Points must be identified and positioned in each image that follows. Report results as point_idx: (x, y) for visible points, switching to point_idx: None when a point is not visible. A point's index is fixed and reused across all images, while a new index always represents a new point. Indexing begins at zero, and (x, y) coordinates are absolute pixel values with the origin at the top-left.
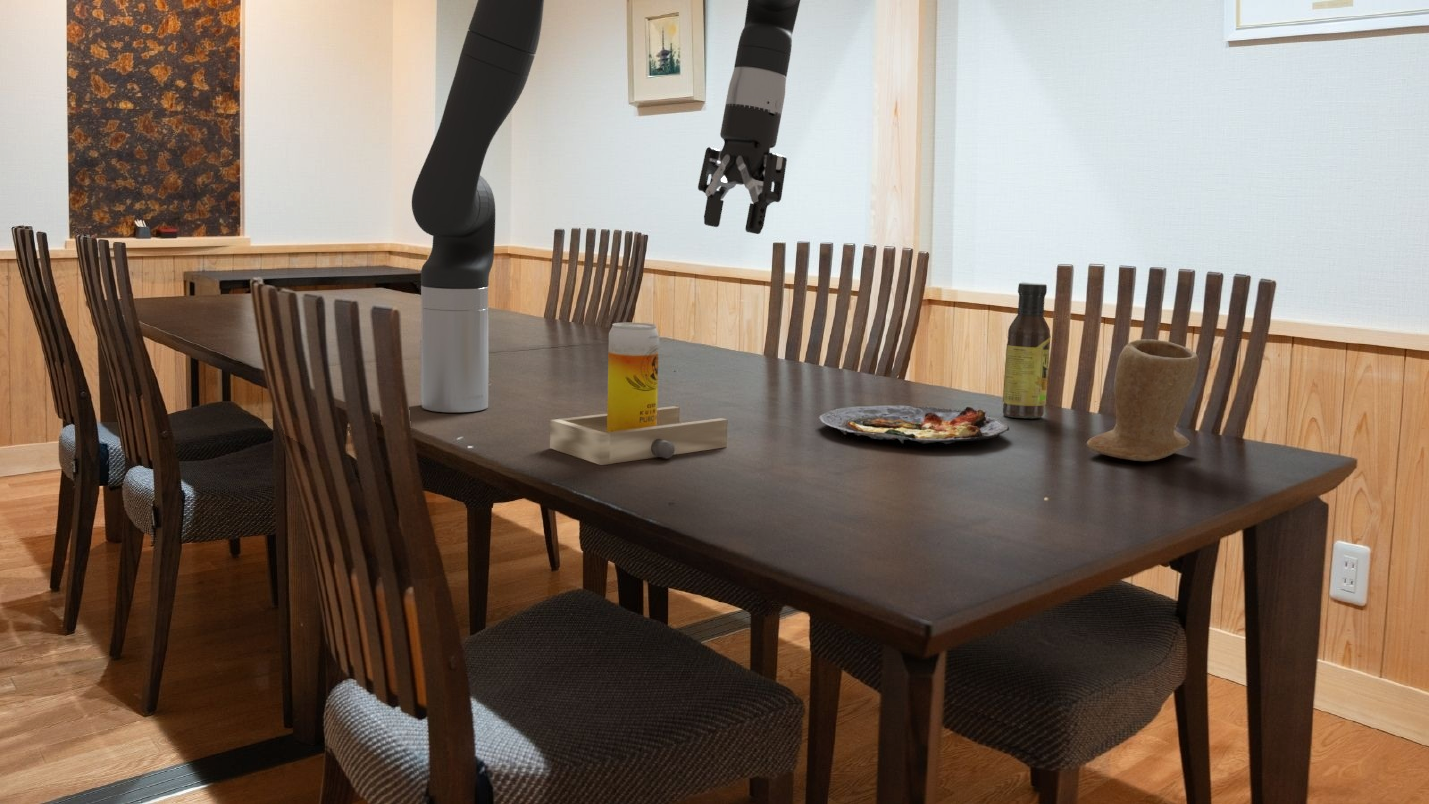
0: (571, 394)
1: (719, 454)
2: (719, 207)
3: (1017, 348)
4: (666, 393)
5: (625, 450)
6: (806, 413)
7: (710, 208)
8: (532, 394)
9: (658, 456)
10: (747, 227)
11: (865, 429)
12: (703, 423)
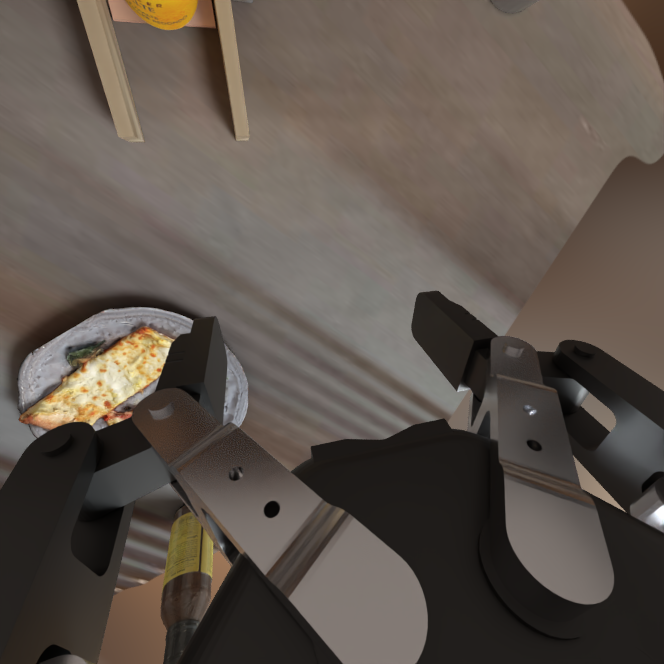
0: (491, 180)
1: (83, 95)
2: (444, 361)
3: (179, 572)
4: (438, 283)
5: None
6: (286, 354)
7: (448, 320)
8: (517, 134)
9: None
10: (202, 320)
11: (160, 351)
12: (100, 77)
